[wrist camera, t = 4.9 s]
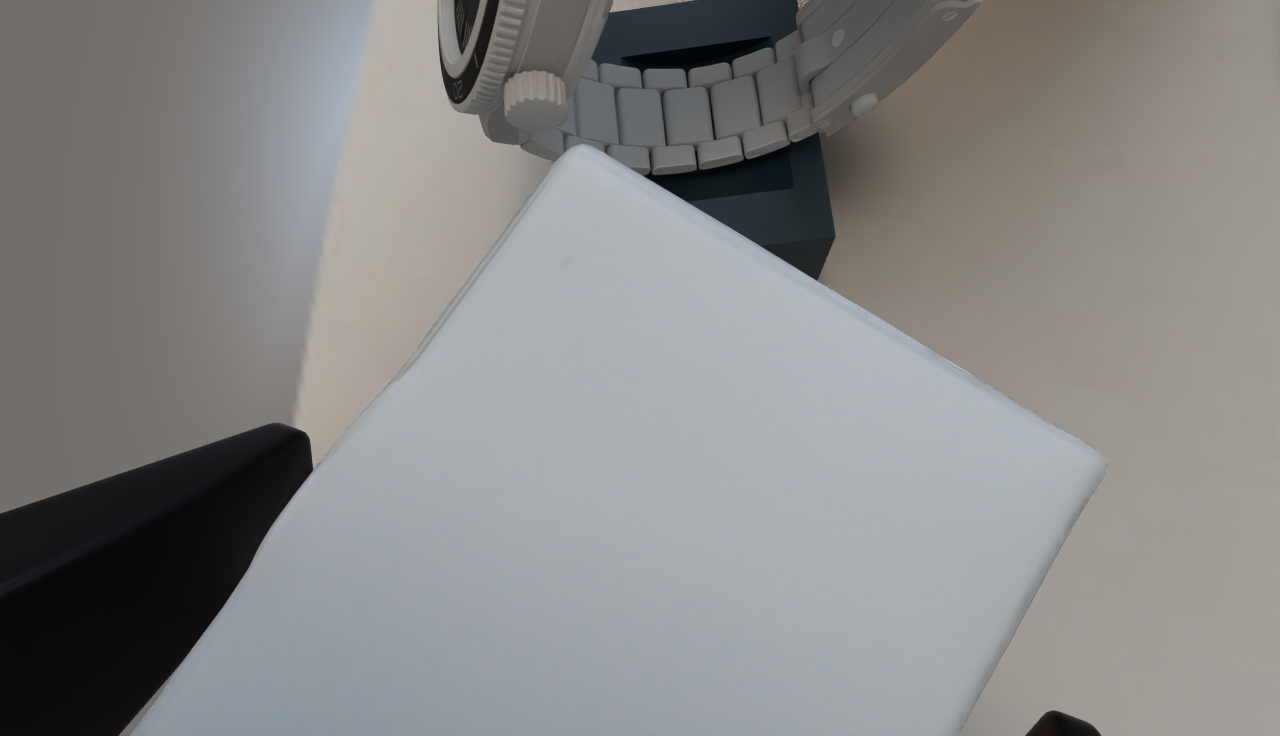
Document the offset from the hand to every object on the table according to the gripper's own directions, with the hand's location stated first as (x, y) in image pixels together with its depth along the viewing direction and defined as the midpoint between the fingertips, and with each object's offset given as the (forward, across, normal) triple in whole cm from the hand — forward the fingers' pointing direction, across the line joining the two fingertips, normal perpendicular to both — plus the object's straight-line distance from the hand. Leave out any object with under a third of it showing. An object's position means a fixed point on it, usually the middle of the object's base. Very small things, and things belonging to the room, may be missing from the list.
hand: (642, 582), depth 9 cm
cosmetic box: (+5, 0, +6) cm, 8 cm away
